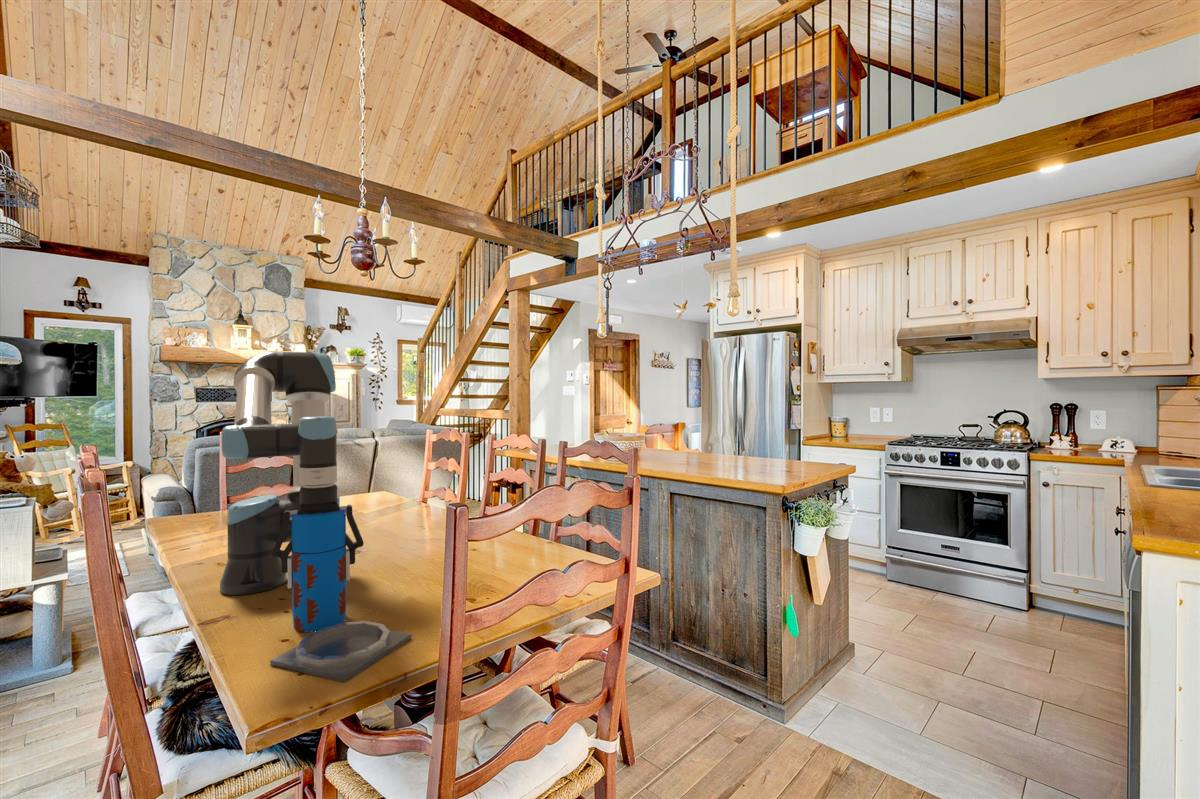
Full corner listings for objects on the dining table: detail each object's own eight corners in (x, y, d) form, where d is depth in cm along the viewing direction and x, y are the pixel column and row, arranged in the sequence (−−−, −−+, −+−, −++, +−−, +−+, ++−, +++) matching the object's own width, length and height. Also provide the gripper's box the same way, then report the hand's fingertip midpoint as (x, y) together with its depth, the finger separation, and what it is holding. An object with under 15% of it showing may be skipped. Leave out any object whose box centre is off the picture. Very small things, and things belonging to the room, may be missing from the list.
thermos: (333, 608, 129) (332, 504, 129) (355, 620, 123) (354, 510, 122) (284, 623, 121) (283, 512, 121) (304, 637, 114) (303, 519, 114)
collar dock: (270, 665, 103) (270, 652, 102) (344, 626, 119) (344, 615, 119) (344, 682, 96) (344, 668, 96) (411, 638, 113) (411, 626, 113)
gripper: (255, 492, 113) (256, 596, 113) (375, 483, 123) (376, 579, 123) (260, 486, 120) (261, 585, 120) (373, 478, 130) (374, 569, 130)
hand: (319, 582), depth 122 cm, fingers closed on thermos, 11 cm apart
